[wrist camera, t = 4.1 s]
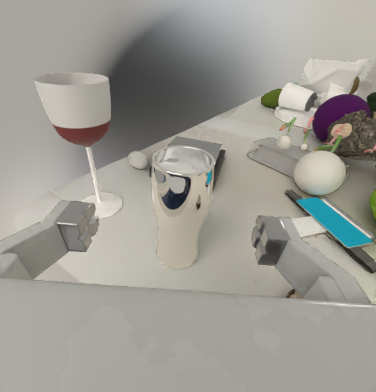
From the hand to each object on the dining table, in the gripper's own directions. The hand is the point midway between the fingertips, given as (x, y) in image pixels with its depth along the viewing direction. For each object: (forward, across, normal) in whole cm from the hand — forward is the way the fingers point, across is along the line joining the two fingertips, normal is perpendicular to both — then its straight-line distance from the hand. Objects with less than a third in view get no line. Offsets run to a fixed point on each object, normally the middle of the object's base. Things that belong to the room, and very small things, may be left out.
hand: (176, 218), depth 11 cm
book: (+44, -29, +18) cm, 55 cm away
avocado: (+105, -34, +15) cm, 111 cm away
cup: (+88, -50, +11) cm, 102 cm away
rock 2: (+42, -45, +15) cm, 63 cm away
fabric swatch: (+98, -73, +8) cm, 122 cm away
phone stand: (+20, -24, +18) cm, 36 cm away
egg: (+36, +11, +18) cm, 41 cm away
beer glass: (+12, 0, +18) cm, 22 cm away
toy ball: (+60, -54, +9) cm, 82 cm away
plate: (+88, -50, +18) cm, 103 cm away
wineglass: (+21, +15, +18) cm, 31 cm away
